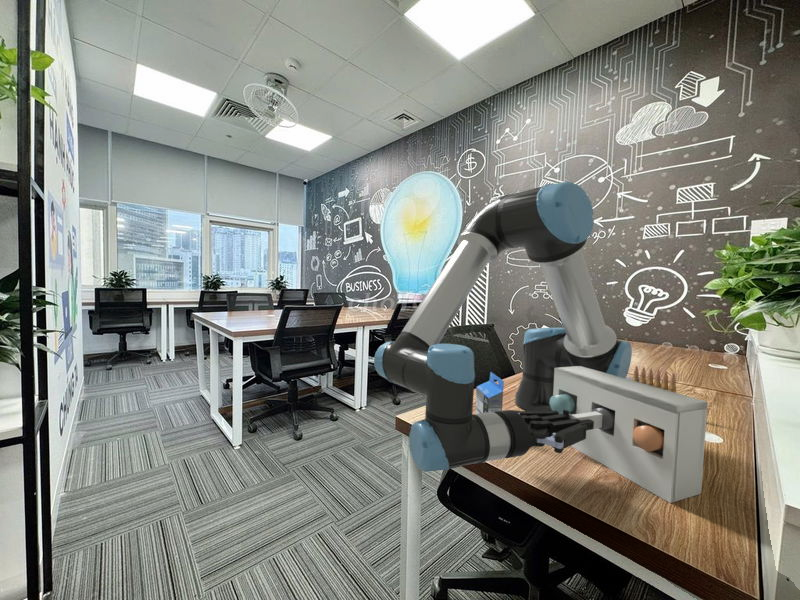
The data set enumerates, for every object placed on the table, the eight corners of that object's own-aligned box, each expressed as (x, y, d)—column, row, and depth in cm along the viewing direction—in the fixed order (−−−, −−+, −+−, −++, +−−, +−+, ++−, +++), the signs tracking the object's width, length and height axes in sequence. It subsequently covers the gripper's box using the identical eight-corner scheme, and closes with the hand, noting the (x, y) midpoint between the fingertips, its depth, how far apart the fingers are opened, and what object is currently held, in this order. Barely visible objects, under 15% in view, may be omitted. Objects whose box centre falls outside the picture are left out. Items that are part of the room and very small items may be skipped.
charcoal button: (589, 424, 66) (590, 405, 66) (600, 423, 67) (601, 403, 67) (608, 433, 62) (609, 412, 62) (619, 431, 63) (620, 411, 63)
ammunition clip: (676, 415, 91) (678, 372, 90) (674, 416, 90) (676, 373, 89) (631, 403, 99) (634, 364, 99) (629, 404, 98) (631, 365, 98)
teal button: (549, 410, 73) (550, 392, 73) (559, 408, 74) (560, 391, 74) (563, 417, 69) (564, 398, 69) (574, 415, 70) (575, 397, 70)
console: (551, 435, 76) (554, 367, 75) (576, 430, 79) (580, 365, 78) (670, 503, 53) (676, 406, 52) (701, 493, 55) (707, 401, 55)
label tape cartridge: (474, 417, 86) (476, 371, 85) (488, 416, 86) (490, 371, 85) (486, 432, 77) (488, 381, 76) (502, 432, 77) (504, 381, 77)
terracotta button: (632, 444, 58) (633, 422, 58) (643, 442, 59) (645, 420, 59) (656, 455, 54) (657, 432, 54) (668, 453, 55) (669, 429, 55)
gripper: (476, 438, 62) (570, 424, 70) (523, 477, 50) (630, 454, 58) (477, 400, 62) (572, 390, 70) (525, 429, 49) (633, 413, 57)
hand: (598, 419), depth 64 cm, fingers closed
